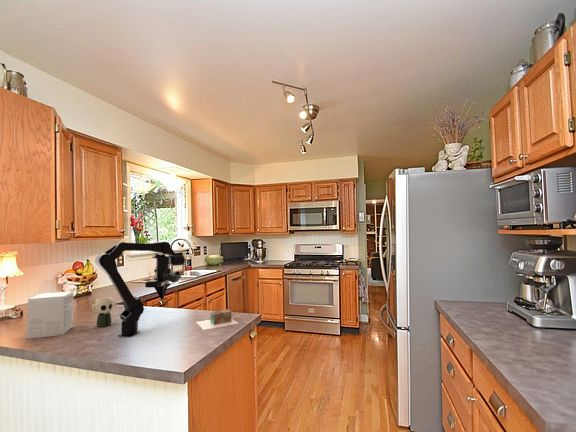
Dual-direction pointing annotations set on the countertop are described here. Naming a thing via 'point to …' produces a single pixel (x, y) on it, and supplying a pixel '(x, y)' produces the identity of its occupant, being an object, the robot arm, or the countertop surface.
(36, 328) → the supplement box
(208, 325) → the cream board
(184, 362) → the countertop surface
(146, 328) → the countertop surface
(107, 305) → the big eyed figurine
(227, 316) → the walnut block
